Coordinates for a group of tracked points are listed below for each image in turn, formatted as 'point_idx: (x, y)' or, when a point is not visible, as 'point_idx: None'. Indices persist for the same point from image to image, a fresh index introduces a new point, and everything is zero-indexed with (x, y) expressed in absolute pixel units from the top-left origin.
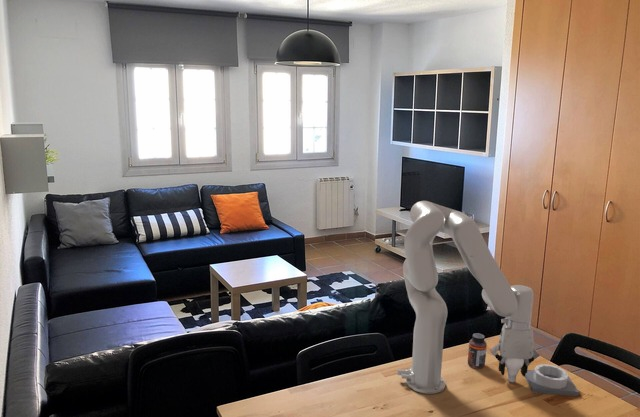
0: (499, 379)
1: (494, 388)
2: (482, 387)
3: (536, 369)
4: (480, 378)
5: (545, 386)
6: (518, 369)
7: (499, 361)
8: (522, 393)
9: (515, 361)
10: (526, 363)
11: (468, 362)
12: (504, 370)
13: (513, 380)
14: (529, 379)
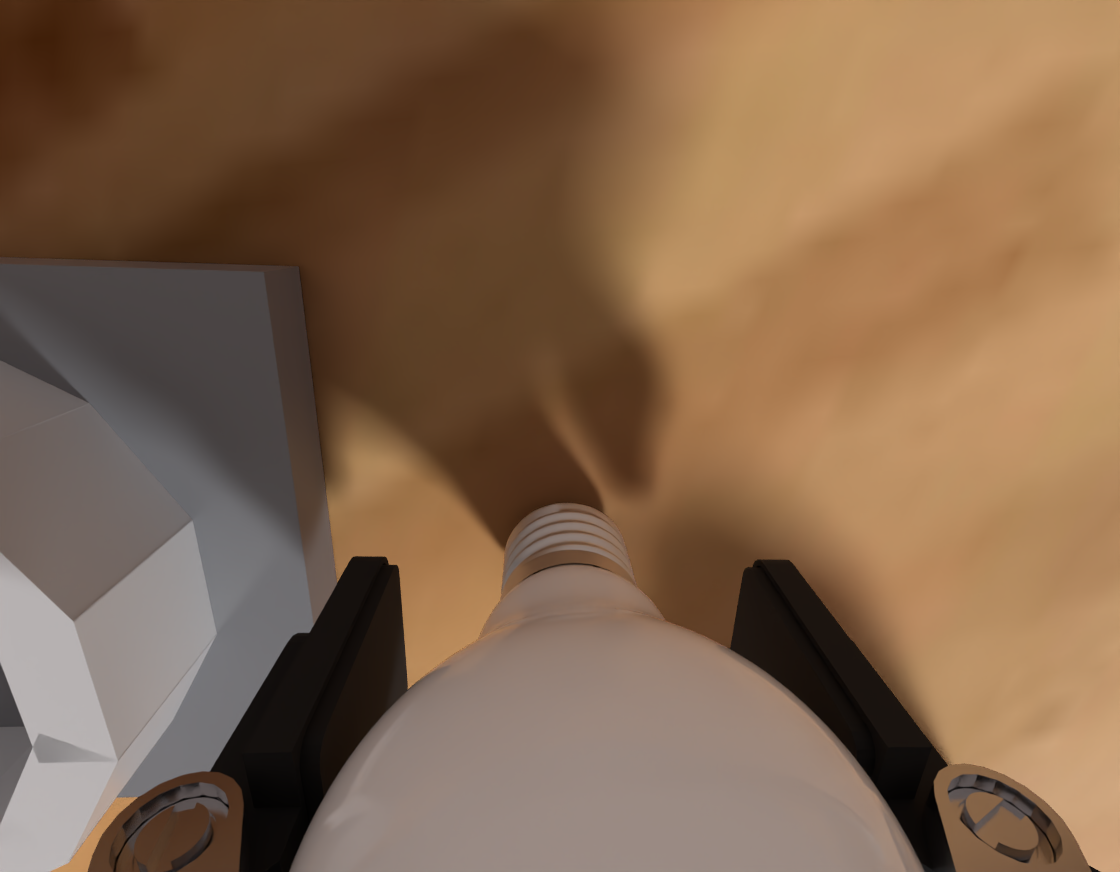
0: (710, 581)
1: (881, 341)
2: (1050, 351)
3: (71, 749)
4: (958, 576)
5: (26, 371)
6: (502, 626)
7: (1045, 842)
8: (481, 232)
9: (691, 862)
10: (209, 847)
11: None
12: (788, 622)
13: (558, 518)
14: (290, 562)
